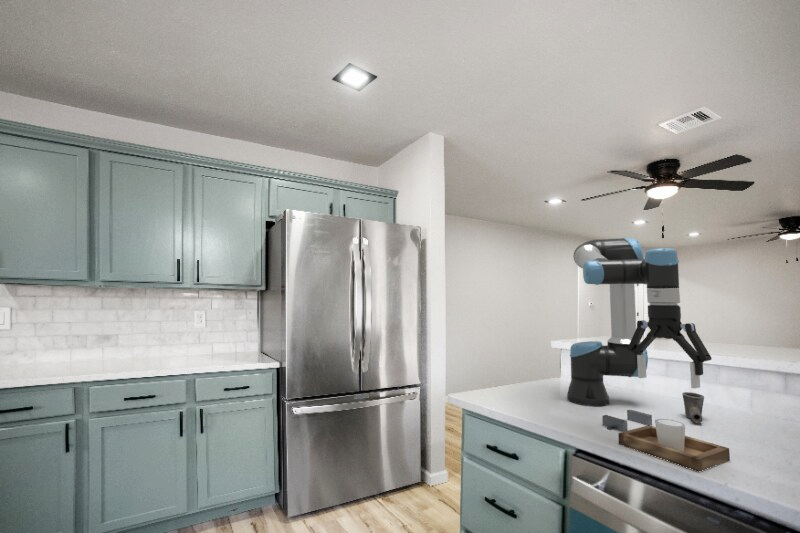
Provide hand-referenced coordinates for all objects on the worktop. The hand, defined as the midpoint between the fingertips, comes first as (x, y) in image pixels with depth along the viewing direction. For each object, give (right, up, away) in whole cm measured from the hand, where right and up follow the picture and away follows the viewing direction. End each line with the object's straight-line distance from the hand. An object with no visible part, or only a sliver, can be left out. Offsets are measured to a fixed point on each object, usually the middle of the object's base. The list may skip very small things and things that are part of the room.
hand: (667, 382), depth 106 cm
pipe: (+27, -21, +25) cm, 42 cm away
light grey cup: (0, -18, -1) cm, 18 cm away
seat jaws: (+1, -20, +20) cm, 28 cm away
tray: (0, -18, -2) cm, 18 cm away
